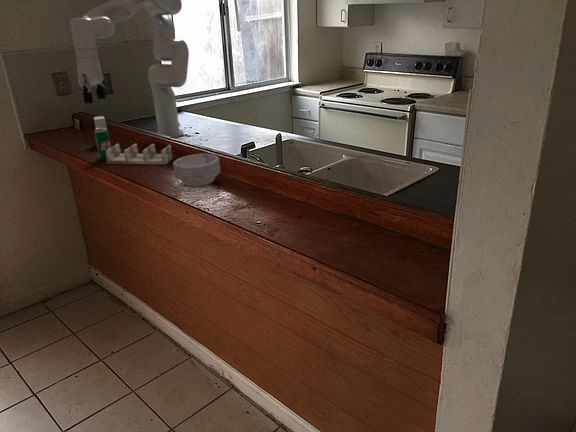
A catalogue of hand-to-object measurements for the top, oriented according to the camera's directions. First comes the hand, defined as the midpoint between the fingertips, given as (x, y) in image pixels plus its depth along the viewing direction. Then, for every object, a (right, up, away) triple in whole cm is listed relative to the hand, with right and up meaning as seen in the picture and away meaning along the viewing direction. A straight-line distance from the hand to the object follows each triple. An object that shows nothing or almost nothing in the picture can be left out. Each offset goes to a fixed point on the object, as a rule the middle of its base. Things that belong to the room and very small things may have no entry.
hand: (95, 100), depth 189 cm
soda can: (+1, -21, +9) cm, 23 cm away
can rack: (+16, -22, +4) cm, 28 cm away
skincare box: (-7, -13, +29) cm, 32 cm away
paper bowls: (+43, -33, -22) cm, 59 cm away
